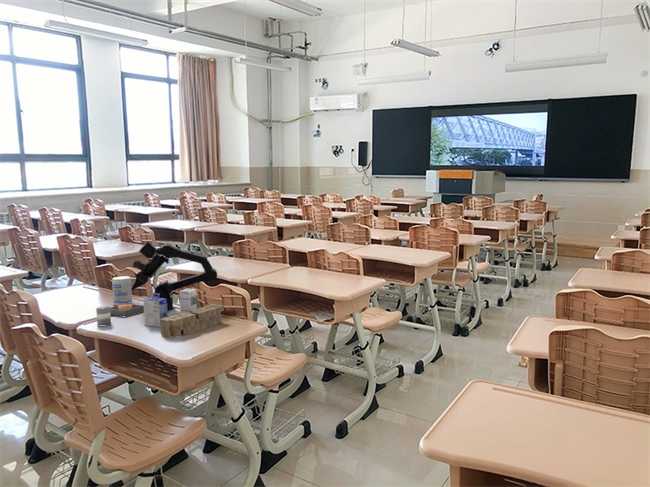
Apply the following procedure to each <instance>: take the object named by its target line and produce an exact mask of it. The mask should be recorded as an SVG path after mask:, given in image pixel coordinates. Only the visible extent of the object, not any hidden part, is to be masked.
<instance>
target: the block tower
mask: <svg viewBox="0 0 650 487" xmlns="http://www.w3.org/2000/svg"><path fill="white" fill-rule="evenodd" d="M223 311H224V308H223V305H222V304H221V305H218V304H213V303H212V304H208V305H205V306H203V307H201V306H200V307H198V308H197V309H194V310H190V313H187V312H184V313H181V312H180V313H177V314H174V315H171V316H170V315H168V317H166V318H162V319H160V326H161V327H160V333H161V334H160V335H161V337H166V338H179V337H181V336H182V335H183V336H184V335H187V334H190V333H194V332H198V331H200V330H201V331H202V330H203V329H206V328H209V327H212V326H215V325H218V324H221V323H222V312H223Z"/></svg>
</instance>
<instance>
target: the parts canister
mask: <svg viewBox="0 0 650 487" xmlns="http://www.w3.org/2000/svg"><path fill="white" fill-rule="evenodd" d="M110 308H111V307H110V306H109V305H104V306H98V307H96V308H95V313H96V322H97V323H96V324H97V326H98V325H108V326H110V325H112V317H111V316H112V315H111V314H110ZM109 324H110V325H109Z"/></svg>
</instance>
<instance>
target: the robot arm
mask: <svg viewBox="0 0 650 487" xmlns="http://www.w3.org/2000/svg"><path fill="white" fill-rule="evenodd" d="M138 253H140V254H141V255H142V256H144V257H145V258H146V259H150V261H148V262H143V261H141V260H138V259H134V261H133V263H132V268H137V269H139V270H140V271H138V272H137V273H136V275H135V281H134V283H133V285H131V289H132V291H133V290H135V289H138V288H140V287H142V286H144V285H146V284H147V283H148V281H150V279H151V278H153V276H154V275H155V273H157V271H158V270H159V269H160V268H161V267H162V266H163V264H165V263H166V265H168V264H169V263H170V258H180V259H183V260H186V261H190V262H194V263H197V264H200V265H201V266H202V269H203V270H204V271H202V272H200V273H199V274H195V275H192V276H188V277H186V278H182V279H180V280H175V281H173V282H170V281H169V280H168V279H167V280H165V281H160V282H159V283H158V284H157V285H156V287H155V288H154V293H159V294H160V296H159V298H164V299H167V311H172V310H176V307H174V302H173V297H172V295H173V291H176V290H178V289H182V288H185V287H188V286H191V285H195V284H198V283H202V282H203V283H204V282H205V283H206V282H207V283H208V282H213V281H215V280H216V279H217V278H218V271H217V270H216V269H215V268H214V267H213V266H212V264H211V263H210V261H209V260H208V258H207V256H205V255H201V254H196V253H193V252H189V251H186V250H182V249H179V248H178V247H176V246H174V245H172V244H168V243H167V244H165V245H163V246H162V247H158V248H157V247H155V246H154V245H152V243H151V242H150V241H147V242H146V243H145V244H144V245H143V246H142V247H141V248H140V249H139V250H138ZM156 296H157V297H158V295H156Z"/></svg>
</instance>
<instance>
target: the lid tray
mask: <svg viewBox="0 0 650 487" xmlns="http://www.w3.org/2000/svg"><path fill="white" fill-rule="evenodd" d="M126 304H128V303H126ZM122 305H125V304H122ZM131 305H132V309H128V310H125V311H122V310H118V306H120V305H118V306H116V305H114V306H112V307H110V314H111V316H113V317H120V316H126V317H129V316H128V315H130V316H132V315H131V314H133V315H135V314H134V313H136V314H138V313H137V312H140V313H142V312H141V311H143V312H144V304H135V303H131Z"/></svg>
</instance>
